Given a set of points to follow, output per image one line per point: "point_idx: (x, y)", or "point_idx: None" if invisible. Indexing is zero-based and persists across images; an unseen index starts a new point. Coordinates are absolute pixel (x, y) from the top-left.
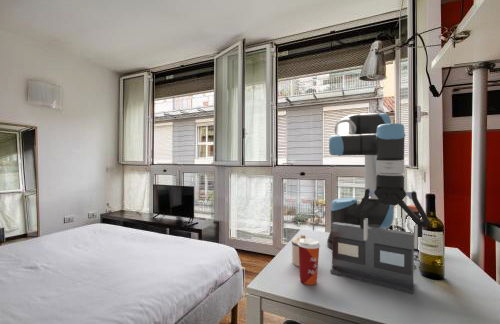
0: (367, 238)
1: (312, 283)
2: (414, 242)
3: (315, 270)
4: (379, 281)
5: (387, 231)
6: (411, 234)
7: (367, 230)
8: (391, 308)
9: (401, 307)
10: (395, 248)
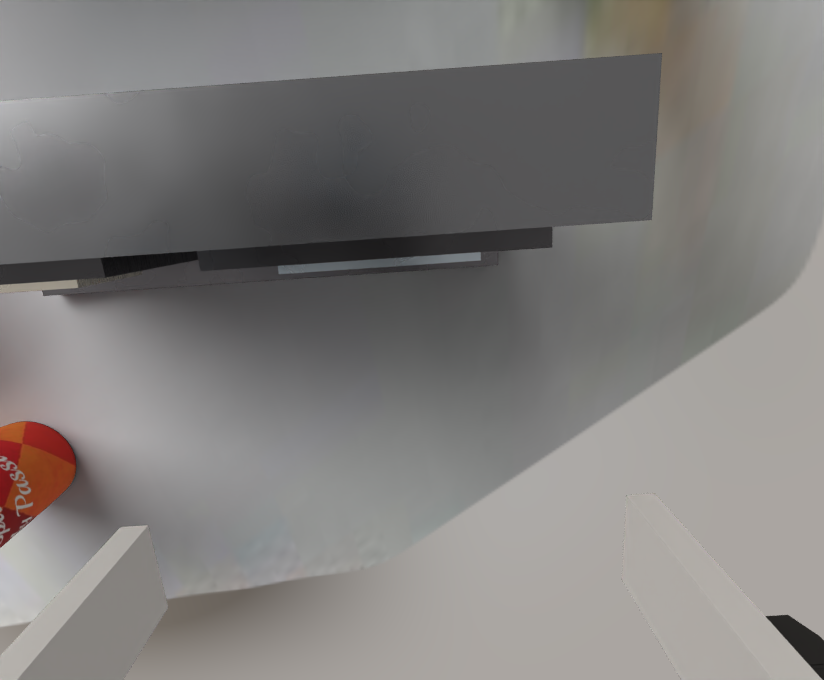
0: (150, 536)
1: (67, 485)
2: (656, 636)
3: (21, 516)
4: (330, 271)
5: (283, 241)
6: (623, 188)
7: (85, 619)
8: (425, 457)
9: (459, 424)
10: (407, 256)
